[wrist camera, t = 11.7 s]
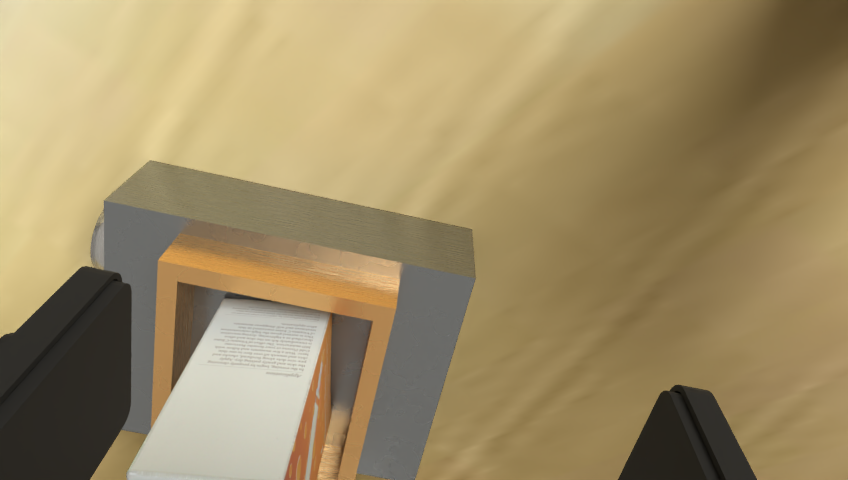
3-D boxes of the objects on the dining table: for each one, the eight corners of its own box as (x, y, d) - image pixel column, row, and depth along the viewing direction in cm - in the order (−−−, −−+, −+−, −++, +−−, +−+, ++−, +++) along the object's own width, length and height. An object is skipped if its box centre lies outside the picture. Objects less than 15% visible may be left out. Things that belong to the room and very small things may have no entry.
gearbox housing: (471, 229, 41) (477, 308, 33) (417, 419, 48) (411, 522, 40) (129, 156, 40) (49, 220, 32) (126, 363, 47) (60, 458, 39)
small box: (333, 413, 41) (288, 618, 29) (230, 405, 41) (144, 607, 29) (335, 303, 37) (284, 486, 25) (222, 293, 37) (119, 473, 25)
